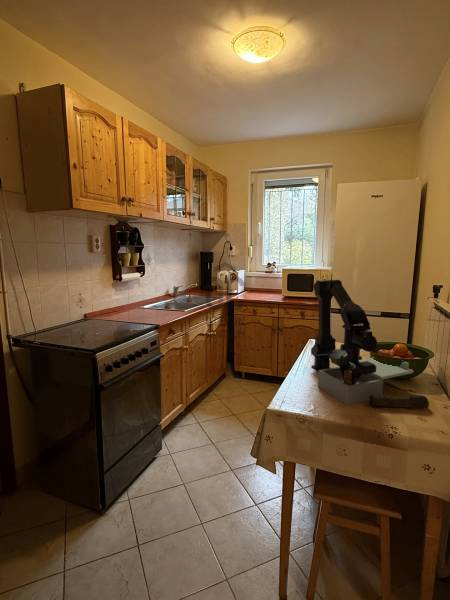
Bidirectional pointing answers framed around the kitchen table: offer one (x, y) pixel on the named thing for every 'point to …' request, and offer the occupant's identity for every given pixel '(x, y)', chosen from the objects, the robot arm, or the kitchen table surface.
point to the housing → (348, 394)
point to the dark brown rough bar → (400, 401)
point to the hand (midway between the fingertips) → (349, 382)
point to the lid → (388, 369)
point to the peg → (348, 377)
